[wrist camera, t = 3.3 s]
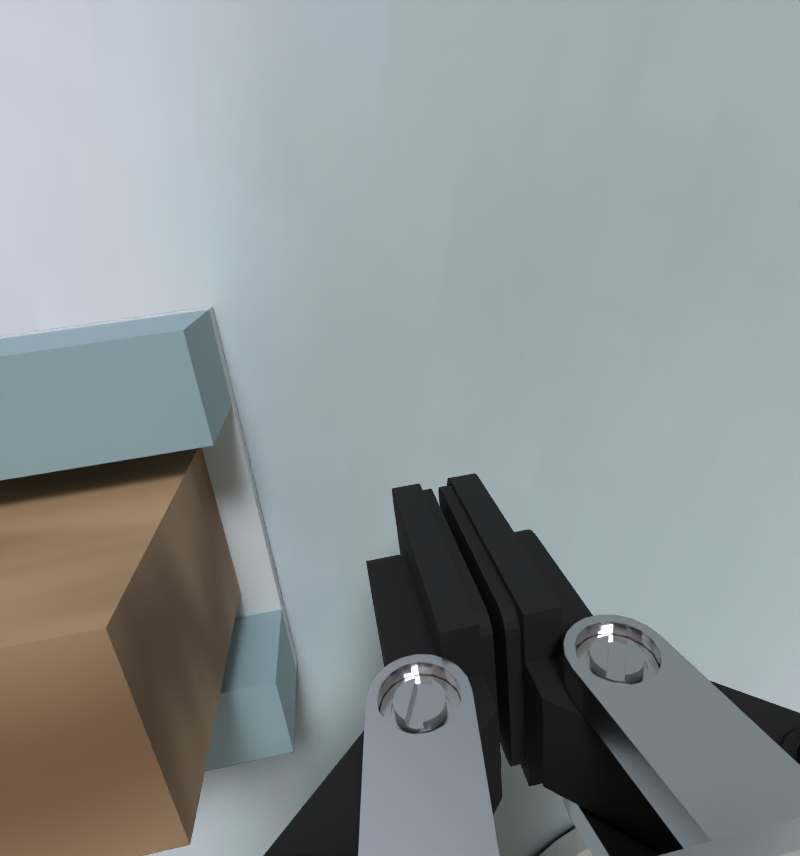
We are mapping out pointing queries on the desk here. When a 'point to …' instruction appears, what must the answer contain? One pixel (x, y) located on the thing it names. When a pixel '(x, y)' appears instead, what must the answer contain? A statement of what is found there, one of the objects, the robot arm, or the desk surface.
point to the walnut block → (110, 654)
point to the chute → (152, 435)
